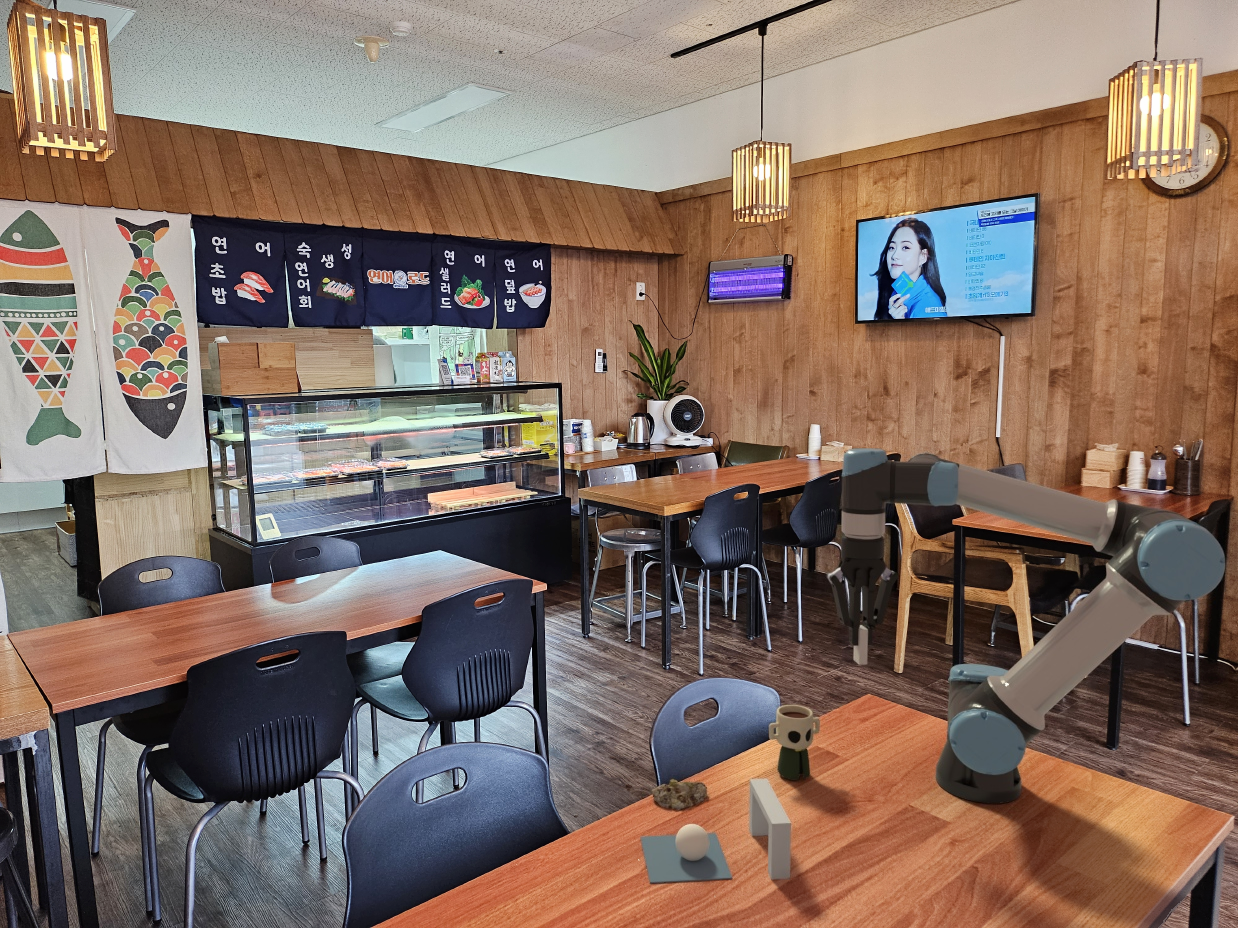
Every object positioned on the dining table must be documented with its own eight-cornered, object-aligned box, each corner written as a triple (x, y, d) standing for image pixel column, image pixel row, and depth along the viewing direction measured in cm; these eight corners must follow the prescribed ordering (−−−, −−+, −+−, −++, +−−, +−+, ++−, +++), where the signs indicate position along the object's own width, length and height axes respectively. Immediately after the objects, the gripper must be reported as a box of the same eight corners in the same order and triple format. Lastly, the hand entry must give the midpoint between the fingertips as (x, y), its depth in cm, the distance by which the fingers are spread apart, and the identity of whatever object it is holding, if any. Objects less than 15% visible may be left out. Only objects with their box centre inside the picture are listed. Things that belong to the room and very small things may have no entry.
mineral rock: (661, 803, 152) (648, 772, 160) (658, 822, 154) (645, 791, 161) (717, 797, 155) (701, 767, 163) (713, 816, 157) (698, 785, 164)
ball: (666, 836, 141) (690, 855, 142) (671, 854, 136) (697, 874, 136) (687, 810, 141) (712, 829, 142) (694, 828, 136) (719, 848, 136)
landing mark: (715, 833, 146) (715, 832, 146) (732, 878, 133) (732, 877, 133) (640, 837, 145) (640, 836, 145) (649, 883, 132) (649, 881, 132)
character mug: (776, 787, 162) (778, 722, 161) (760, 770, 169) (761, 707, 168) (827, 779, 165) (829, 715, 164) (809, 763, 172) (810, 701, 171)
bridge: (765, 828, 148) (766, 778, 147) (789, 878, 133) (791, 822, 132) (748, 829, 147) (749, 778, 146) (771, 879, 133) (772, 823, 132)
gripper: (888, 529, 157) (885, 653, 160) (820, 532, 156) (818, 656, 158) (906, 537, 150) (903, 667, 152) (835, 540, 148) (833, 670, 151)
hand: (860, 661), depth 155 cm, fingers closed
